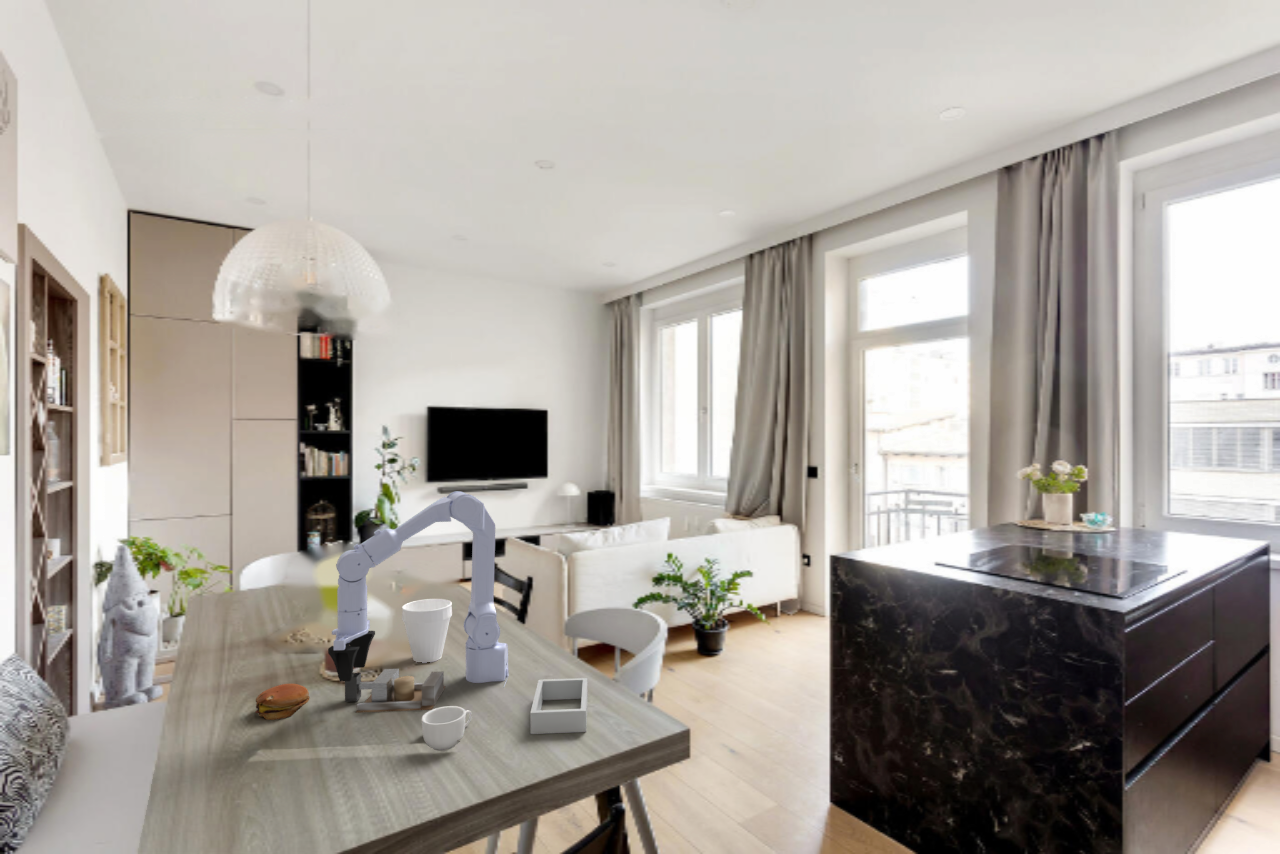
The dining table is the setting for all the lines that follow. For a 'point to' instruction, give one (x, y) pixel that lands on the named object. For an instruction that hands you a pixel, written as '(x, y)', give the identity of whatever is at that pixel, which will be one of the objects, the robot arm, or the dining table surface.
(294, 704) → the burger
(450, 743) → the teacup
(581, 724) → the box
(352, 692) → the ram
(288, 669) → the dining table surface
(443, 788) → the dining table surface
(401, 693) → the nut
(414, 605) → the white plant pot
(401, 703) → the bench
